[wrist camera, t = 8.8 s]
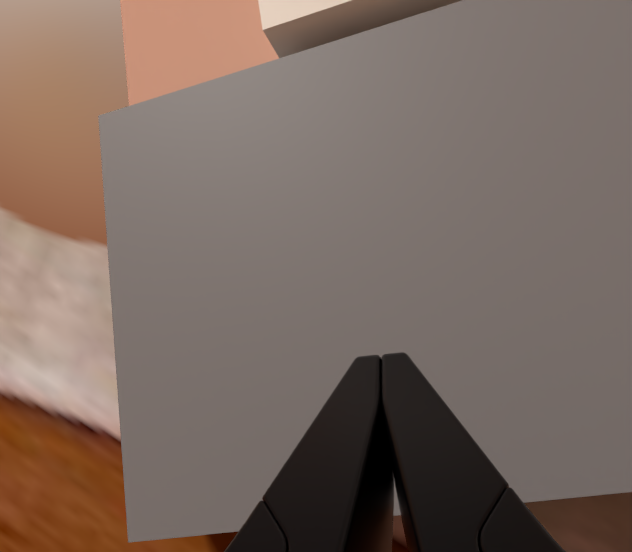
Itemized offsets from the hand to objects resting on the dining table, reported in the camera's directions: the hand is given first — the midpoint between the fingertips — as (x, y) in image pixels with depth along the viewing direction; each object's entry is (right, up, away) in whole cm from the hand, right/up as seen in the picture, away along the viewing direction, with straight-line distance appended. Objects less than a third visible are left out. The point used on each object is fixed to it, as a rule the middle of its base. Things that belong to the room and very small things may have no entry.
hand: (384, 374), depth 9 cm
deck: (+3, +2, +10) cm, 10 cm away
